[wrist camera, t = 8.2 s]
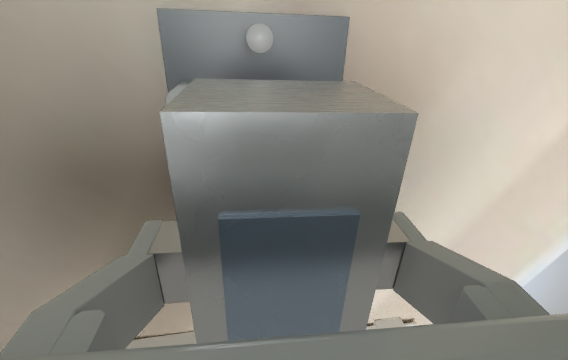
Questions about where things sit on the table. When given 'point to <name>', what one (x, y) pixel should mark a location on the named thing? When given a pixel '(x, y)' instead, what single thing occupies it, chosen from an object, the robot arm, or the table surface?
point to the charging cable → (191, 339)
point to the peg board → (250, 46)
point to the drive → (283, 201)
